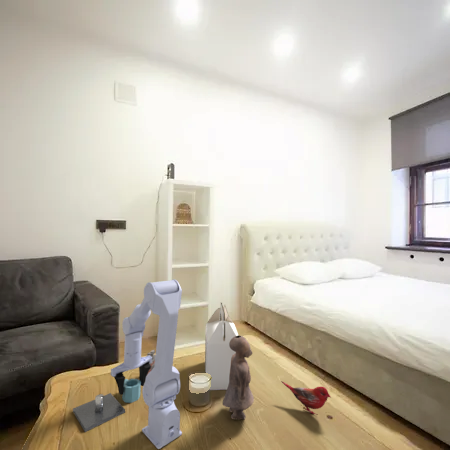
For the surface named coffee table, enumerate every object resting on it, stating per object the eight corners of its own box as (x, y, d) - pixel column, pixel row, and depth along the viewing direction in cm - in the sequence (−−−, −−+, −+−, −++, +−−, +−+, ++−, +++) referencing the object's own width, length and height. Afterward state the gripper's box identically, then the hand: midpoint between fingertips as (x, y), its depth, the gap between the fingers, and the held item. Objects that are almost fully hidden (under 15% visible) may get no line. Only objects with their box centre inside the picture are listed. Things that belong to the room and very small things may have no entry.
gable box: (240, 389, 98) (242, 315, 99) (205, 391, 97) (207, 315, 98) (233, 361, 120) (234, 300, 121) (204, 361, 119) (206, 300, 120)
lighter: (148, 383, 100) (149, 357, 101) (140, 382, 101) (141, 356, 101) (157, 373, 108) (158, 348, 109) (150, 372, 109) (151, 348, 109)
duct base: (125, 412, 84) (125, 396, 84) (85, 432, 76) (85, 414, 76) (110, 395, 93) (110, 381, 93) (72, 411, 84) (73, 395, 84)
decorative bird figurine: (329, 425, 80) (329, 392, 81) (278, 400, 92) (279, 371, 92) (332, 420, 83) (332, 388, 83) (282, 396, 94) (282, 368, 94)
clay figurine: (258, 427, 79) (259, 344, 80) (226, 431, 77) (228, 346, 78) (247, 400, 92) (248, 329, 92) (219, 403, 90) (220, 330, 91)
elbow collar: (142, 397, 92) (143, 383, 92) (127, 404, 88) (127, 389, 88) (132, 387, 98) (132, 374, 98) (117, 394, 94) (117, 380, 94)
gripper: (146, 341, 100) (144, 376, 100) (107, 352, 90) (106, 392, 90) (155, 347, 95) (154, 384, 95) (116, 360, 85) (114, 402, 85)
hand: (131, 389), depth 92 cm, fingers open, 7 cm apart
